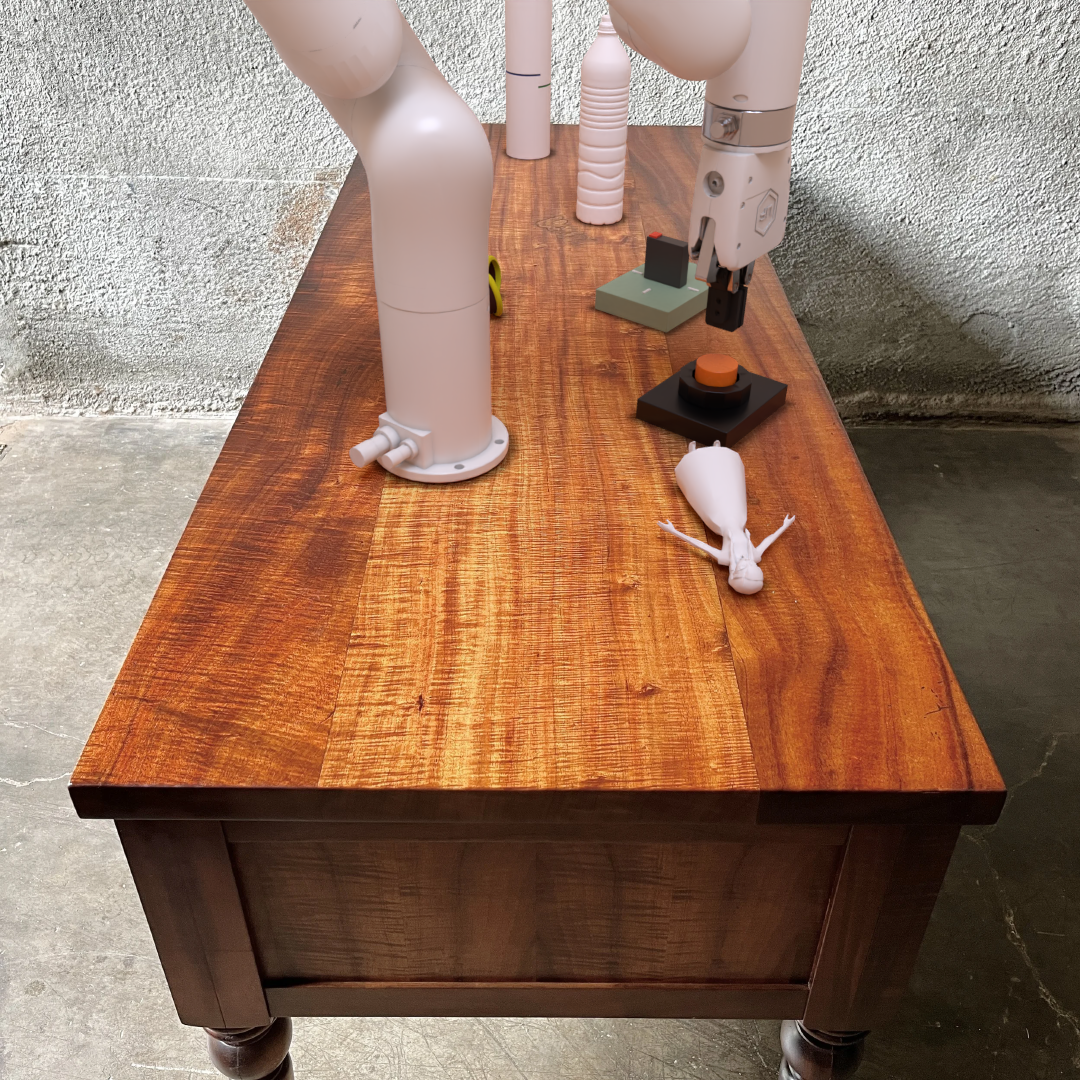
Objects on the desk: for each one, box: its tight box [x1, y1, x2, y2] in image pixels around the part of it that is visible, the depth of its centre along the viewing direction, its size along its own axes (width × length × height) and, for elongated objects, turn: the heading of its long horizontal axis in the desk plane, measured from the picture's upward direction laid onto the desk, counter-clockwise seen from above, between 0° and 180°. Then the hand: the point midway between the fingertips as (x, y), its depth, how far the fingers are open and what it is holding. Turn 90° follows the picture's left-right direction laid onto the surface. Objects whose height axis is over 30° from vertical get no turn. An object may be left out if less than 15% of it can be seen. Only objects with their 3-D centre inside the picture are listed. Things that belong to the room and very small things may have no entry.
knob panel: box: [594, 261, 709, 333], centre depth 123 cm, size 14×10×3 cm
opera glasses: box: [488, 254, 504, 317], centre depth 121 cm, size 10×5×5 cm, turn 3°
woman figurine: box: [656, 440, 796, 595], centre depth 86 cm, size 12×4×18 cm
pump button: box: [695, 352, 739, 387], centre depth 100 cm, size 4×4×2 cm
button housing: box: [635, 357, 789, 449], centre depth 102 cm, size 12×10×4 cm
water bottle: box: [575, 13, 632, 226], centre depth 139 cm, size 9×6×25 cm
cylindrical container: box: [504, 0, 553, 160], centre depth 162 cm, size 7×7×25 cm
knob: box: [644, 231, 690, 288], centre depth 121 cm, size 5×2×5 cm, turn 51°
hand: (723, 325), depth 97 cm, fingers closed
